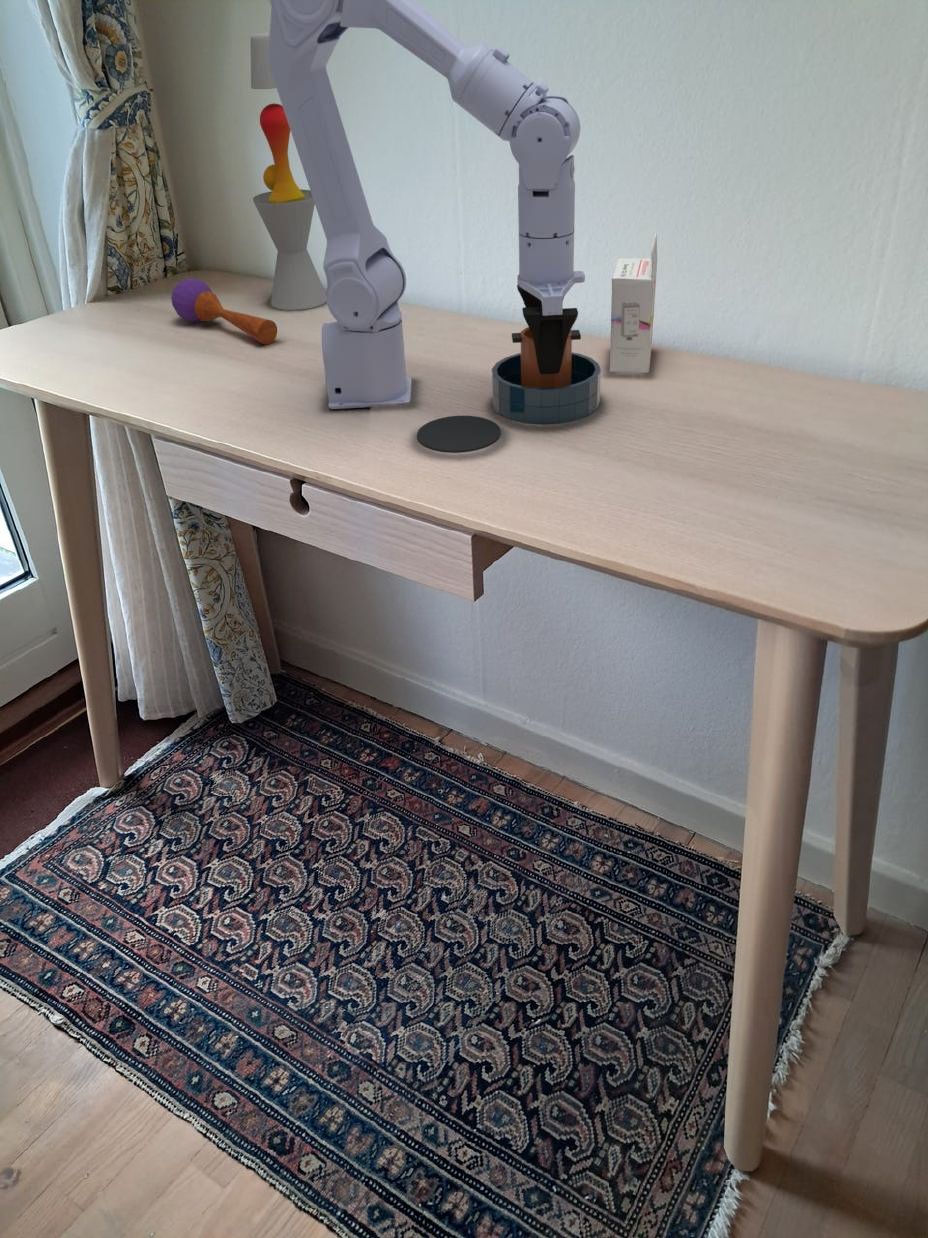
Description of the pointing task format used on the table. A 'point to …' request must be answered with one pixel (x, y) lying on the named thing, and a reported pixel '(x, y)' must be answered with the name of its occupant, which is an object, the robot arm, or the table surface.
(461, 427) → the disc
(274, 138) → the lava lamp
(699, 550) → the table surface
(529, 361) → the small pot
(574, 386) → the blue shallow round container
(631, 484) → the table surface
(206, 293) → the maraca
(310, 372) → the table surface
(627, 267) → the ink cartridge box
